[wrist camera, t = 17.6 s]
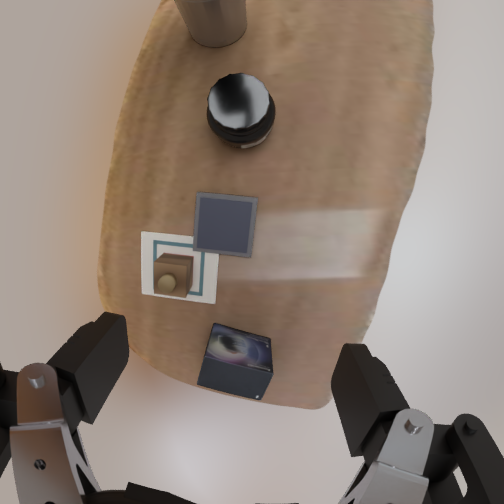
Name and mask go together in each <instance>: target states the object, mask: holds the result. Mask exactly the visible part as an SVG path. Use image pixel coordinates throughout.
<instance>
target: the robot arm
mask: <svg viewBox="0 0 504 504" xmlns="http://www.w3.org/2000/svg"><path fill="white" fill-rule="evenodd" d="M174 1H175V3H176V5H177V7H178V9H179V11H180V13H181V15H182V17H183V19H184V21H185V23H186V25H187V27H188V29H189V31H190V33H191V35H192V37H193V39H194V40H195V41H196V42H198V43H199V44H201V45H204V46H207V47H222V46H226V45H229V44H232V43H233V42H235V41H237V40H238V39H239V38H240V37H241V36H242V35H243V34H244V32H245V30H246V26H247V20H246V2H245V0H174ZM128 357H129V345H128V336H127V326H126V319H125V317H124V316H123V315H119V314H114V313H110V312H104V313H103V314H102V315H101V316H100V317H99V318H98V319H97V320H96V321H95V322H89V323H88V324H85V325H83V326H81V327H80V328H79V329H78V330H77V331H76V332H75V333H74V334H73V336H71V337H70V338H69V339H68V341H67V343H65V344H64V345H63V346H62V347H61V348H60V349H59V350H58V351H57V352H56V353H55V354H54V355H53V357H52V358H51V359H50V360H49V361H48V362H47V363H46V364H44V363H33V364H30V365H27V366H25V367H24V368H23V369H21V371H20V372H14V371H8V370H3V368H2V366H1V363H0V477H1V475H2V473H3V471H4V469H5V468H6V466H7V464H8V462H9V460H10V458H11V456H12V464H13V470H14V477H15V483H16V488H17V493H18V498H19V502H20V504H196V503H193V502H191V501H188V500H185V499H183V498H181V497H178V496H176V495H173V494H171V493H169V492H165V491H160V490H156V489H152V488H148V487H145V486H141V485H137V484H134V483H131V482H128V485H127V488H126V490H105V491H101V489H100V487H99V485H98V483H97V481H96V479H95V477H94V475H93V472H92V470H91V467H90V464H89V462H88V458H87V455H86V452H85V449H84V446H83V442H82V439H81V436H80V432H79V429H78V427H77V426H78V425H79V423H80V421H81V420H82V421H84V422H86V423H89V424H93V423H94V421H95V419H96V417H97V415H98V413H99V412H100V410H101V408H102V406H103V404H104V403H105V401H106V399H107V397H108V395H109V394H110V392H111V390H112V389H113V387H114V385H115V383H116V382H117V380H118V378H119V377H120V375H121V373H122V371H123V370H124V368H125V366H126V365H127V362H128ZM331 390H332V394H333V397H334V400H335V403H336V407H337V410H338V413H339V417H340V419H341V423H342V427H343V430H344V433H345V437H346V440H347V444H348V447H349V451H350V454H351V457H356V456H364V459H365V461H364V463H363V464H362V465H361V467H360V469H359V471H358V473H357V474H356V476H355V478H354V479H353V481H352V483H351V484H350V486H349V487H348V489H347V491H346V492H345V494H344V495H343V497H342V499H341V500H340V501H339V503H338V504H504V458H503V456H502V454H501V452H500V451H499V449H498V447H497V445H496V444H495V442H494V440H493V439H492V437H491V435H490V434H489V432H488V430H487V429H486V427H485V425H484V424H483V422H482V421H481V420H480V419H479V418H477V417H475V416H474V415H471V414H461V415H459V416H458V417H457V418H456V419H455V420H454V422H453V423H452V425H441V424H433V422H432V420H431V418H430V417H429V416H428V415H427V414H425V413H423V412H422V411H419V410H416V409H410V407H409V405H408V403H407V401H406V400H405V398H404V396H403V394H402V393H401V391H400V389H399V387H398V386H397V384H396V383H395V381H394V379H393V377H392V376H391V374H390V372H389V370H388V369H387V367H386V365H385V364H384V363H383V362H381V361H380V360H379V359H378V358H377V357H372V355H371V353H370V351H369V350H368V348H367V346H366V345H365V344H349V343H346V344H344V345H343V347H342V350H341V353H340V356H339V358H338V361H337V364H336V367H335V370H334V372H333V375H332V380H331ZM458 466H459V467H460V469H461V472H462V474H463V476H464V478H465V481H466V483H467V487H468V488H467V493H466V495H465V497H464V498H463V495H462V493H461V490H460V488H459V485H458V483H457V480H456V478H455V476H454V474H453V471H454V470H455V469H456V468H457V467H458ZM291 504H292V503H291ZM293 504H299V503H293Z"/></svg>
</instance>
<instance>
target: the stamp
mask: <svg viewBox="0 0 504 504" xmlns="http://www.w3.org/2000/svg"><path fill="white" fill-rule="evenodd" d="M193 261H194V256H188V255H179V254H171V253H163V254H162V255H161V256H160V257H159V258H157V259H156V260H155V261H154V294H161V295H168V296H175V297H182V298H186V296H187V294H188V293H189V291H190V289H191V287H192V282H193Z"/></svg>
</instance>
